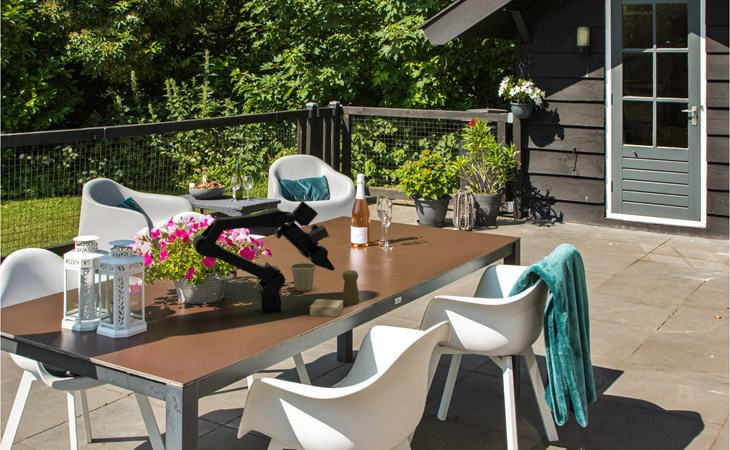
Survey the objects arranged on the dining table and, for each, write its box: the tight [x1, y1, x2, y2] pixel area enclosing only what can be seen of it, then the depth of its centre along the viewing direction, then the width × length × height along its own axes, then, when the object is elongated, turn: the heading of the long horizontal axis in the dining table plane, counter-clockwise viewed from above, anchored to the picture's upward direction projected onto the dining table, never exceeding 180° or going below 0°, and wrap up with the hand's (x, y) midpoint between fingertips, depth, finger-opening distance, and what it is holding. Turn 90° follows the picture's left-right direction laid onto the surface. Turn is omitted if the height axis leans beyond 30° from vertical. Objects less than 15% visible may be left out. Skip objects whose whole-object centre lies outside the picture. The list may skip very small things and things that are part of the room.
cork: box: [341, 269, 361, 306], centre depth 323 cm, size 6×6×11 cm
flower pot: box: [289, 262, 317, 292], centre depth 341 cm, size 9×9×9 cm
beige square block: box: [309, 298, 344, 318], centre depth 312 cm, size 9×9×3 cm
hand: (330, 266), depth 319 cm, fingers open, 9 cm apart
